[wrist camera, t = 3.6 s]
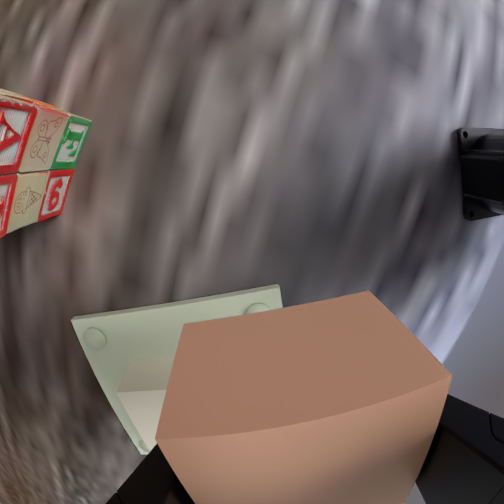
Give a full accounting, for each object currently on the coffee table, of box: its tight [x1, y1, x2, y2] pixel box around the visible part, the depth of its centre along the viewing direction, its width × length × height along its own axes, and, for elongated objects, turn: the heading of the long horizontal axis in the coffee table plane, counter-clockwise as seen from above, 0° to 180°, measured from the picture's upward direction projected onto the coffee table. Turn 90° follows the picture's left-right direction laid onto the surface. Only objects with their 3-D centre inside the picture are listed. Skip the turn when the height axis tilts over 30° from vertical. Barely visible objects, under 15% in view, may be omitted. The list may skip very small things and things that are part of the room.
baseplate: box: [71, 284, 283, 454], centre depth 20 cm, size 14×14×1 cm
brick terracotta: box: [155, 290, 452, 504], centre depth 7 cm, size 5×5×4 cm
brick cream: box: [116, 356, 175, 451], centre depth 18 cm, size 7×7×4 cm
